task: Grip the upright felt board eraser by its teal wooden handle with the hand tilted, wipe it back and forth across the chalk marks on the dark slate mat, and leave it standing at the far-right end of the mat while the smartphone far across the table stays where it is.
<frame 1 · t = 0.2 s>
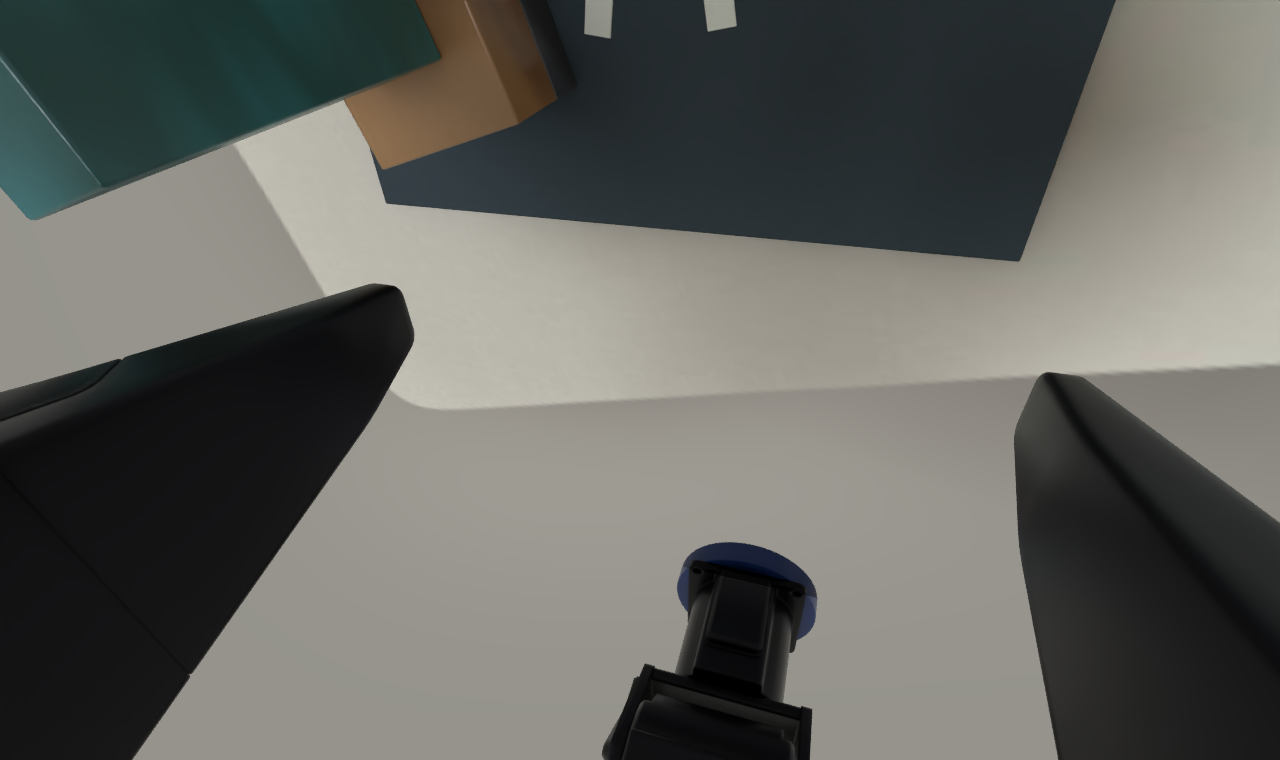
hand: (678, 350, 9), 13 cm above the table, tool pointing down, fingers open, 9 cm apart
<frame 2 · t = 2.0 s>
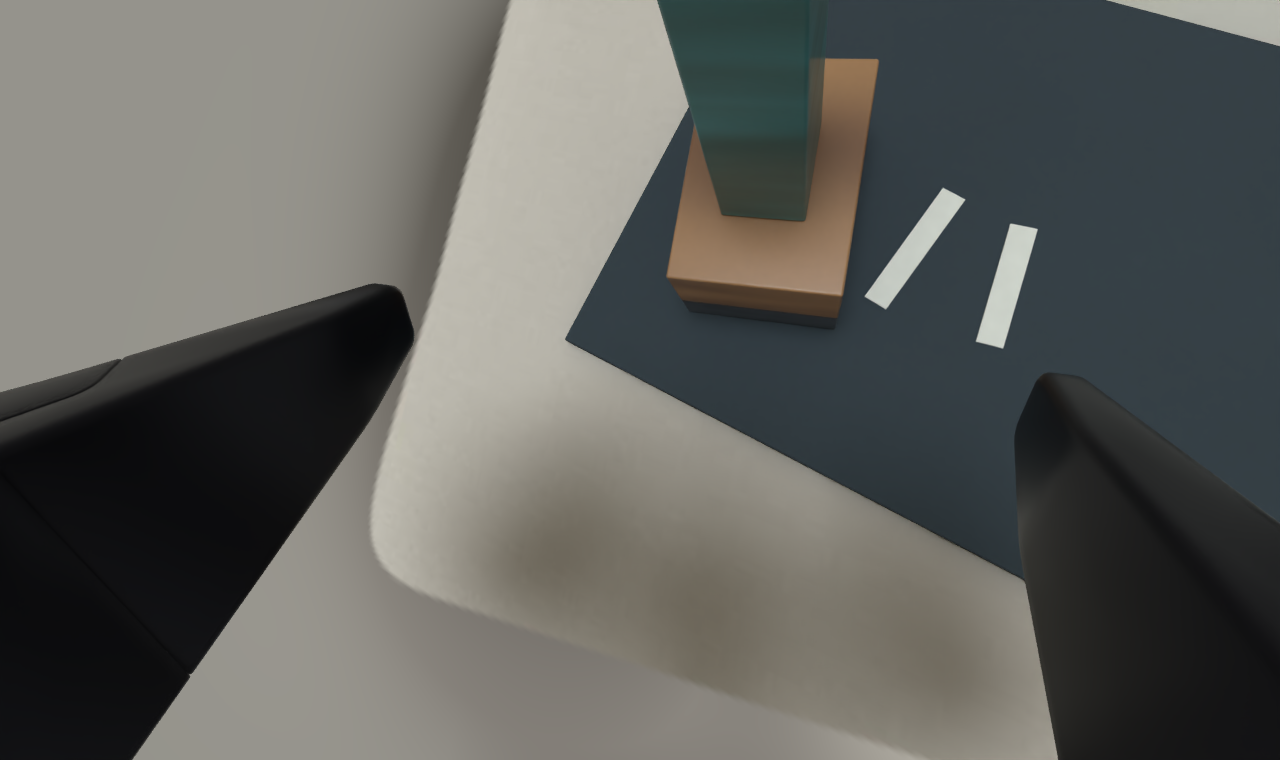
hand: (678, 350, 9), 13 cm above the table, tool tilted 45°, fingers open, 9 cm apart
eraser: (775, 223, 22), resting on slate mat
slate mat: (970, 244, 21), on the table
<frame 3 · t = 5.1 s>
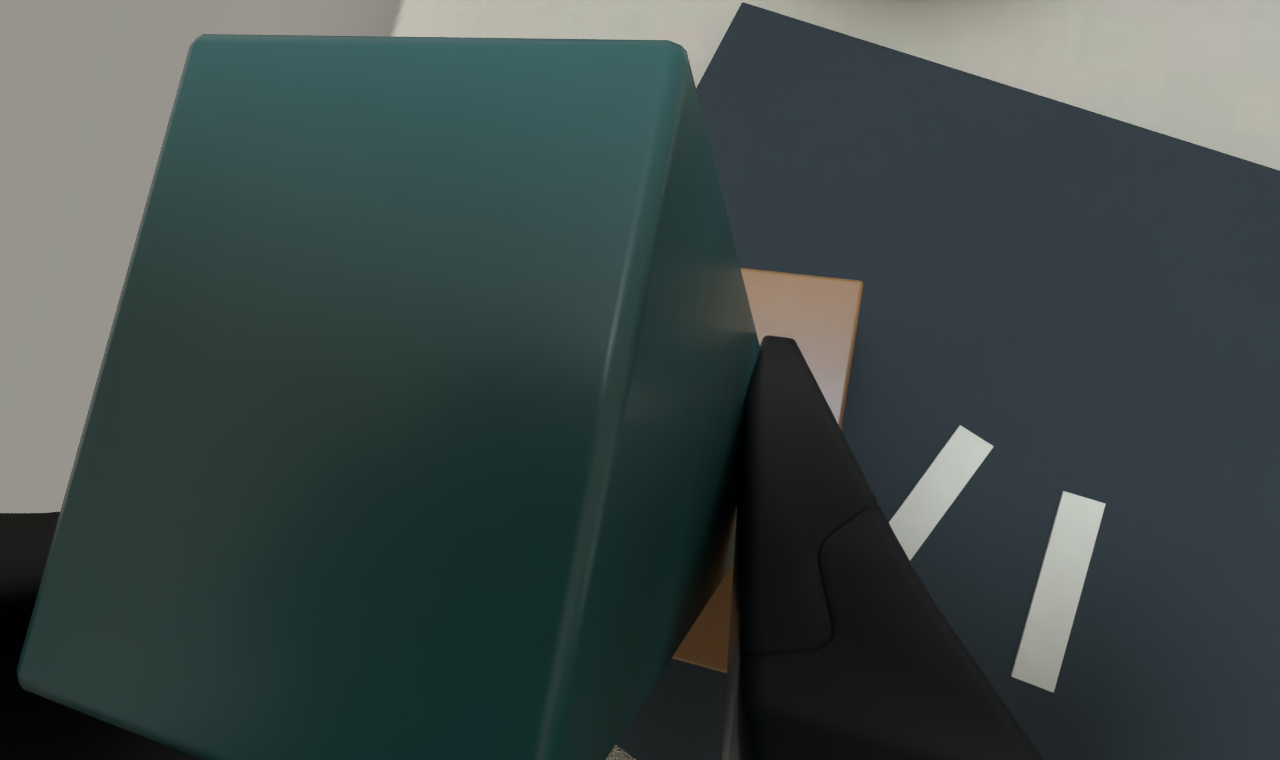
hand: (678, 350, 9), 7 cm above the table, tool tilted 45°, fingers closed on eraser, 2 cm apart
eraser: (715, 458, 15), resting on slate mat, touching gripper
slate mat: (1000, 509, 14), on the table
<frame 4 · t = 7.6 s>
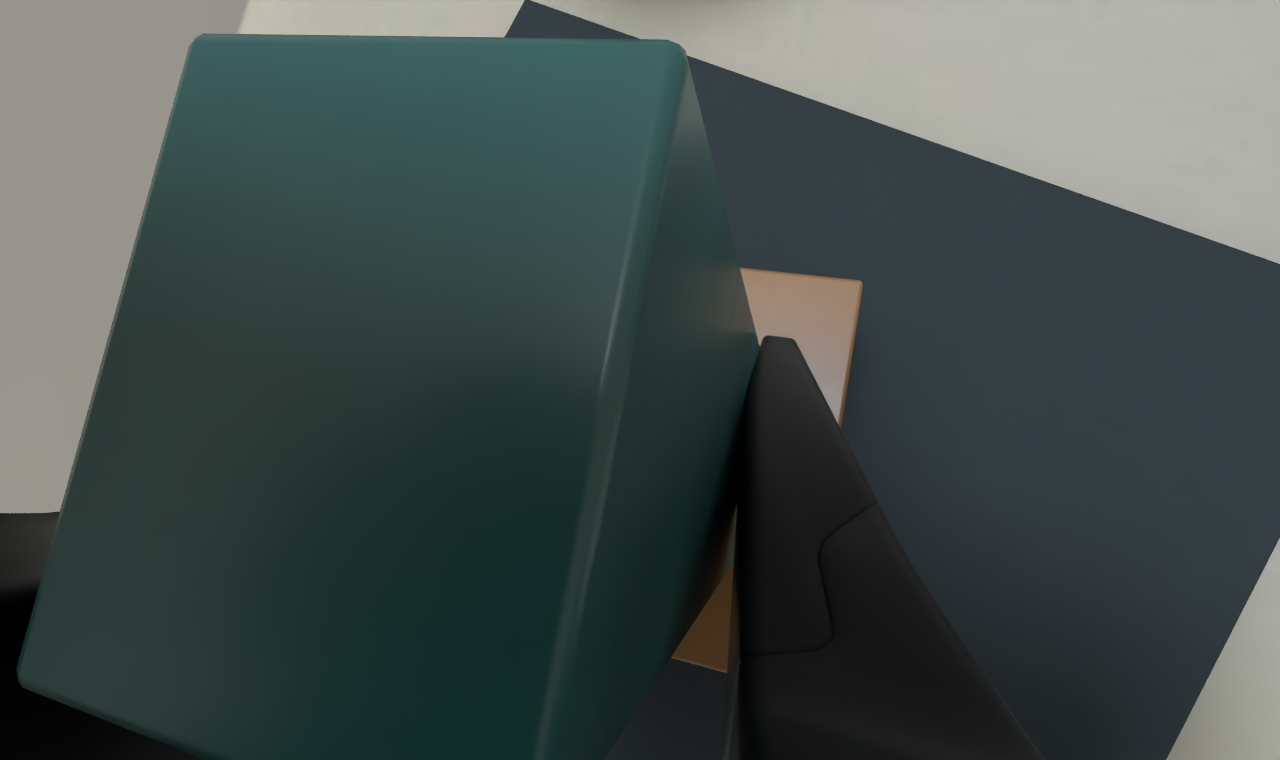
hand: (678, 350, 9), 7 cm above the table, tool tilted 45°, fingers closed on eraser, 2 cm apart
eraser: (715, 458, 15), point 1 cm above the table, touching gripper
slate mat: (711, 441, 16), on the table
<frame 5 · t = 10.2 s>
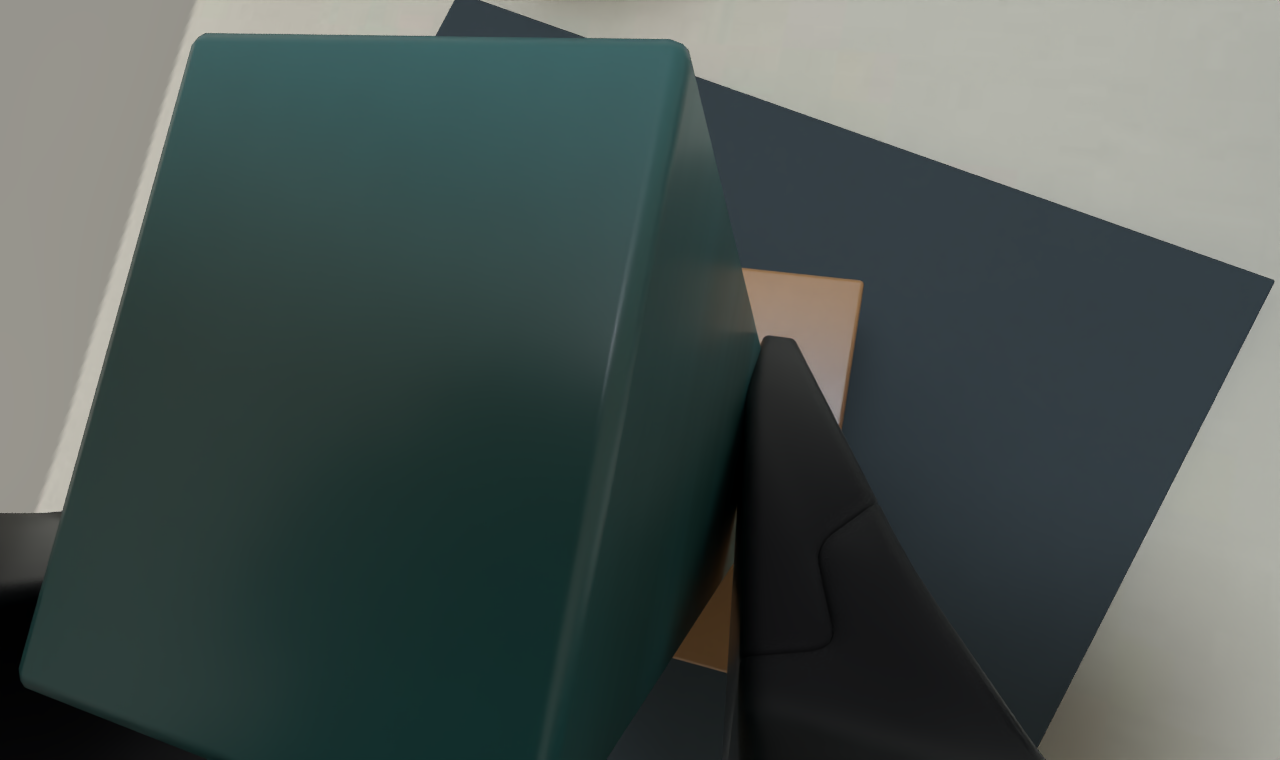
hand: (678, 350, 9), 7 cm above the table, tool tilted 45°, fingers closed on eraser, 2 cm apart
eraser: (715, 458, 15), point 1 cm above the table, touching gripper
slate mat: (631, 421, 16), on the table
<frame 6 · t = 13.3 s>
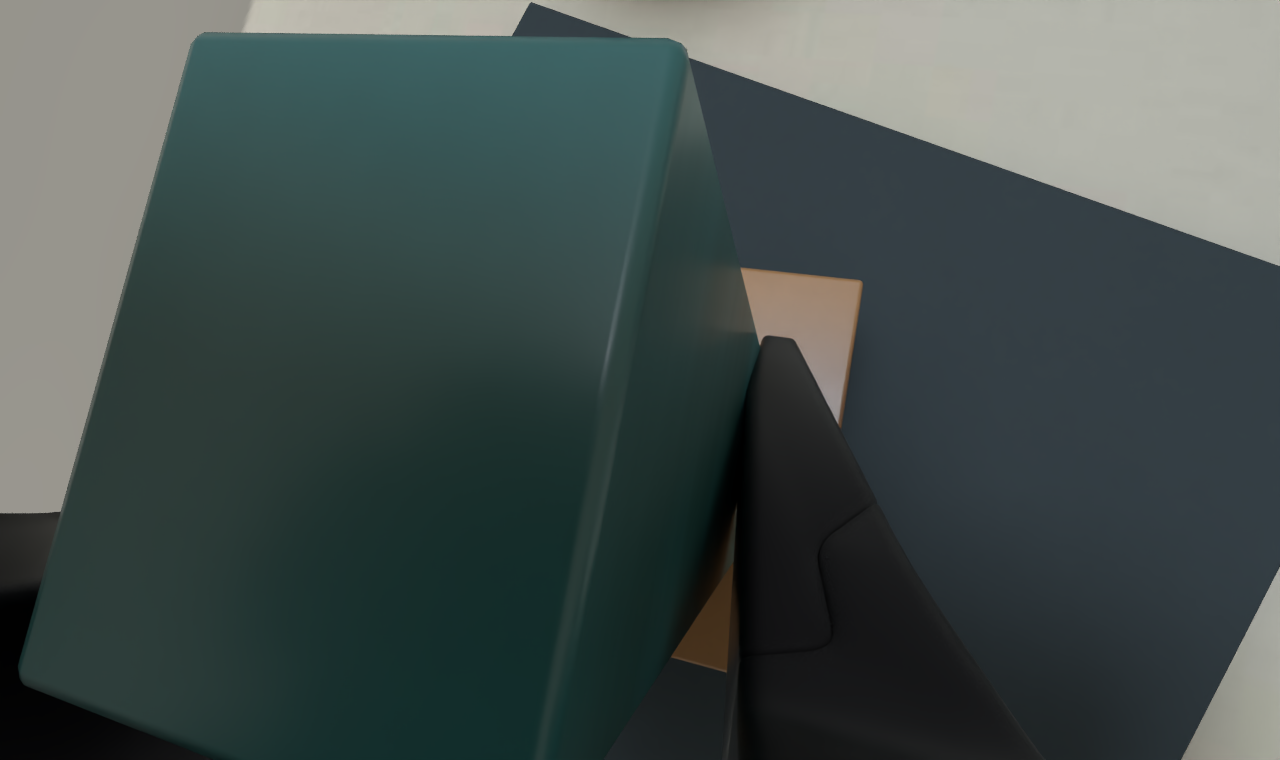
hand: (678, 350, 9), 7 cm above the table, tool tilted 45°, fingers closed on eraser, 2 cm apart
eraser: (715, 458, 15), point 1 cm above the table, touching gripper
slate mat: (717, 447, 16), on the table
when the fingers open (7 cm above the table, at t = 15.6 s): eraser stays where it is, resting on slate mat.
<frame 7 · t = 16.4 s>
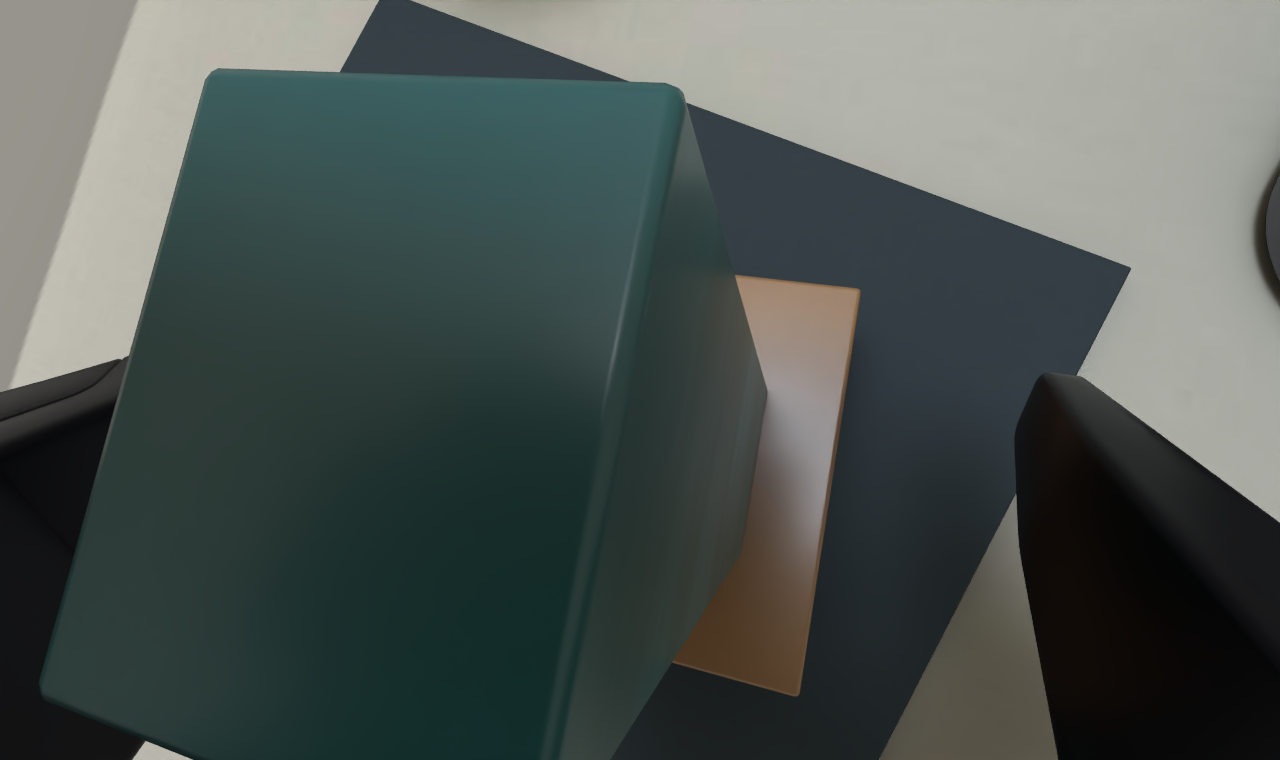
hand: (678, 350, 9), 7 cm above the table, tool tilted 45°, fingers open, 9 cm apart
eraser: (714, 463, 15), resting on slate mat
slate mat: (536, 404, 17), on the table
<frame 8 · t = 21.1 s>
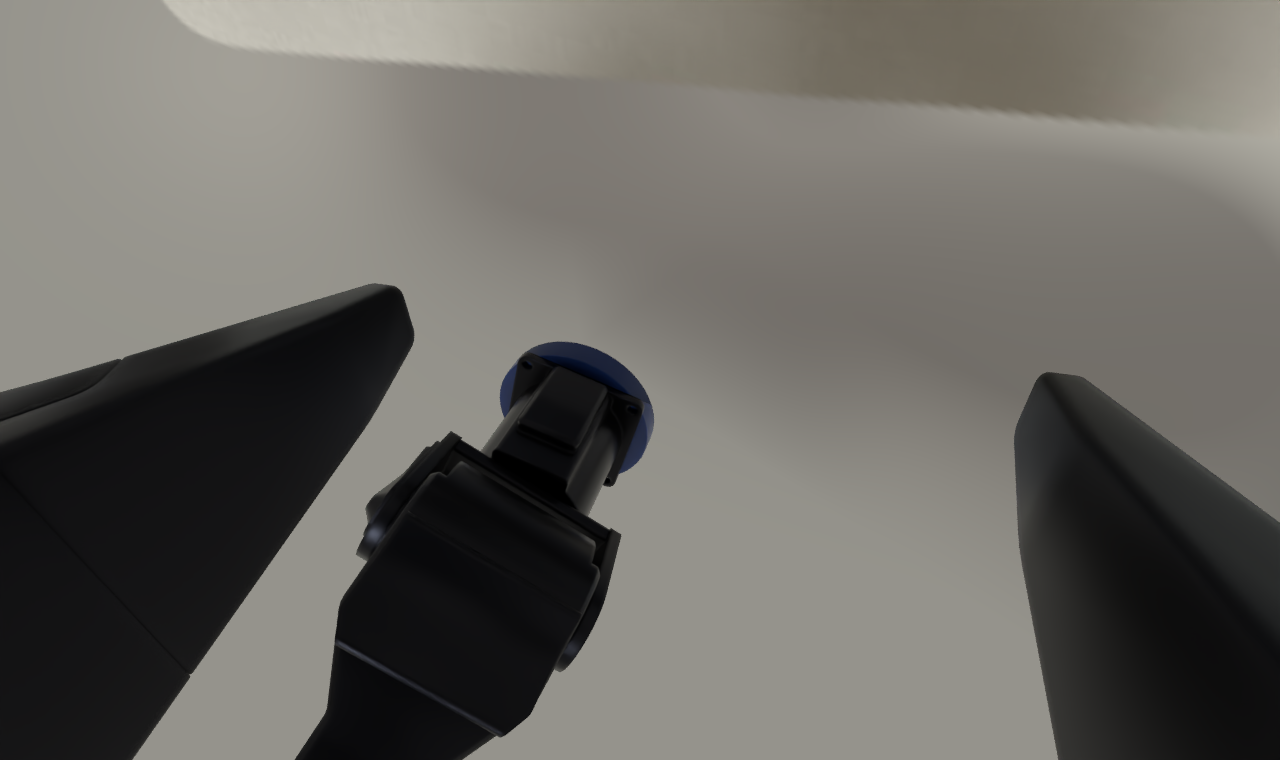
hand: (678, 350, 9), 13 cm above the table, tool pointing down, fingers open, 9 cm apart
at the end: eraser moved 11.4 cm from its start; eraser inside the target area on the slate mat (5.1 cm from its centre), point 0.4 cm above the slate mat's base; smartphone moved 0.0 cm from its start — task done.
